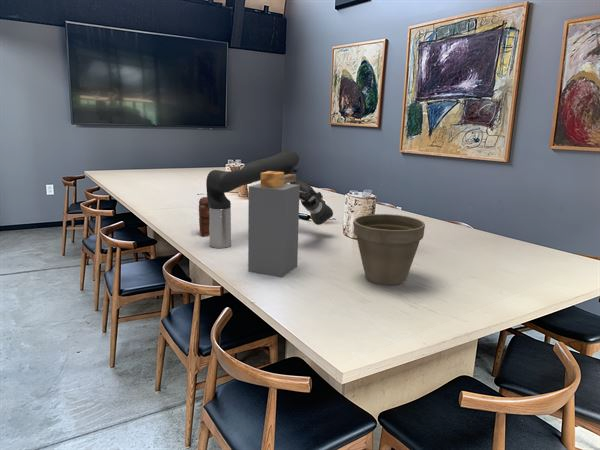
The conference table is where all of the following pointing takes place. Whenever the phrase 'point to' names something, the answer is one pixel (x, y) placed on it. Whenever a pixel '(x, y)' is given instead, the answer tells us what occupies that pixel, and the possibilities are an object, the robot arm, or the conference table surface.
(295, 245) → the pedestal
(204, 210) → the wooden figurine
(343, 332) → the conference table surface
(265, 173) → the mallet
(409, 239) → the plant pot
